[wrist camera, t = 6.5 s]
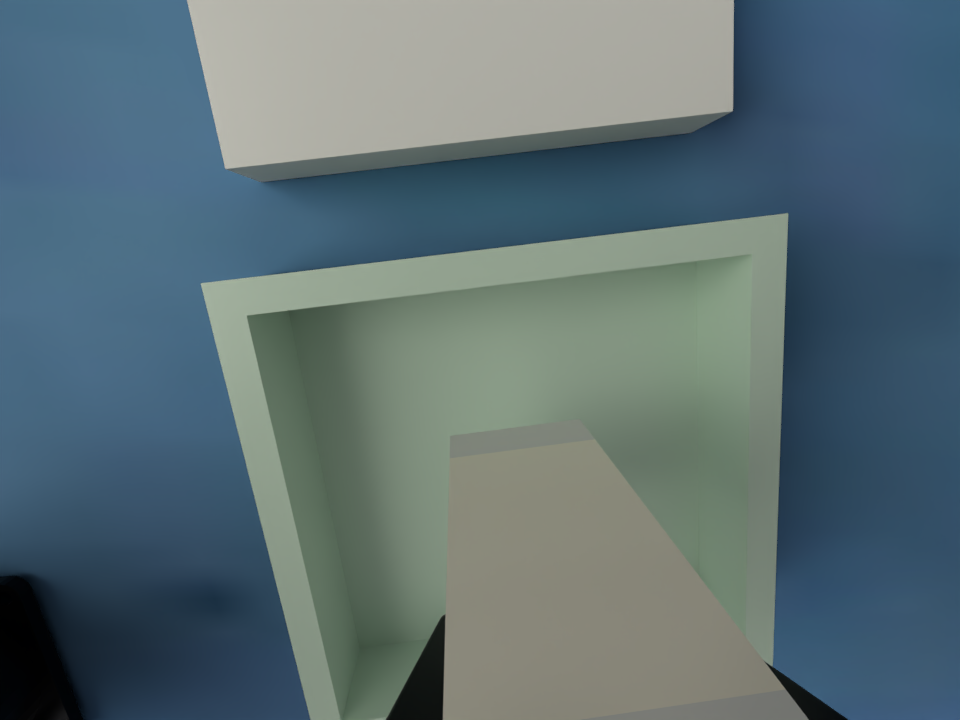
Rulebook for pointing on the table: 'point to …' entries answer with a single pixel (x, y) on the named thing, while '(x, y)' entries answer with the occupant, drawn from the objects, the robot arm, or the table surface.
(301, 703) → the table surface
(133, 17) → the table surface
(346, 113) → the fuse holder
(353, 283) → the parts tray
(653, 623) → the block
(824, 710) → the robot arm
